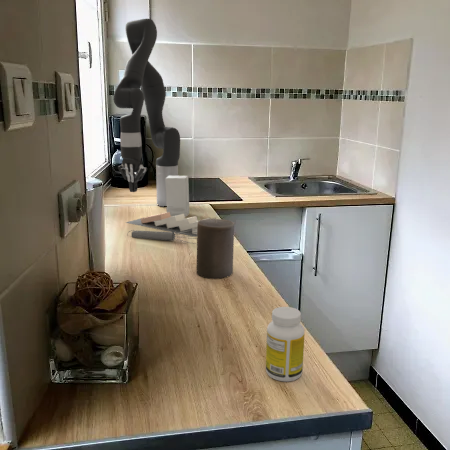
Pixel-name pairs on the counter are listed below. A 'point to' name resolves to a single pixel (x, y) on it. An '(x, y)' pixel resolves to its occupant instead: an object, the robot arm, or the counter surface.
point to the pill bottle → (285, 345)
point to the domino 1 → (155, 217)
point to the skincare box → (177, 195)
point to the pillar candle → (215, 248)
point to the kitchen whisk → (158, 235)
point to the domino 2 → (169, 220)
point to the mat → (161, 227)
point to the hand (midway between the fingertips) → (133, 191)
